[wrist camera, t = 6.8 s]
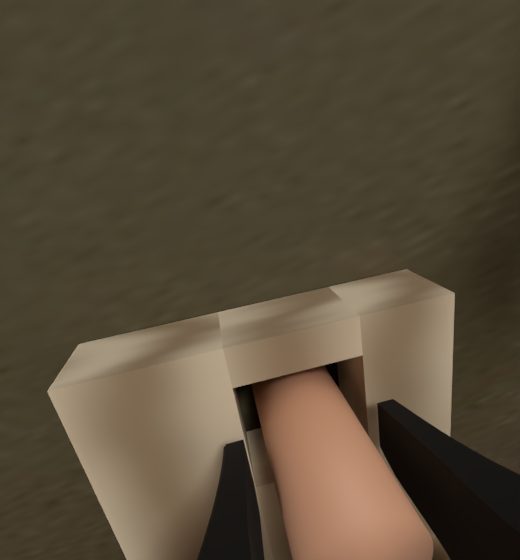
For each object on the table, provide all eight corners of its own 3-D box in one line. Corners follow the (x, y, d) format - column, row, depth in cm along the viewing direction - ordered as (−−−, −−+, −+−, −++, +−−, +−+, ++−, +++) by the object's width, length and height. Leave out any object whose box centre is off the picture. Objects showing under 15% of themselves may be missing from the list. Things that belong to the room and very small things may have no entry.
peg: (320, 335, 15) (438, 502, 8) (324, 397, 16) (429, 593, 9) (245, 350, 15) (294, 540, 7) (255, 412, 16) (305, 631, 8)
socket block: (406, 269, 15) (561, 346, 9) (411, 494, 20) (512, 651, 13) (78, 344, 13) (-29, 504, 7) (170, 567, 18) (155, 783, 12)
